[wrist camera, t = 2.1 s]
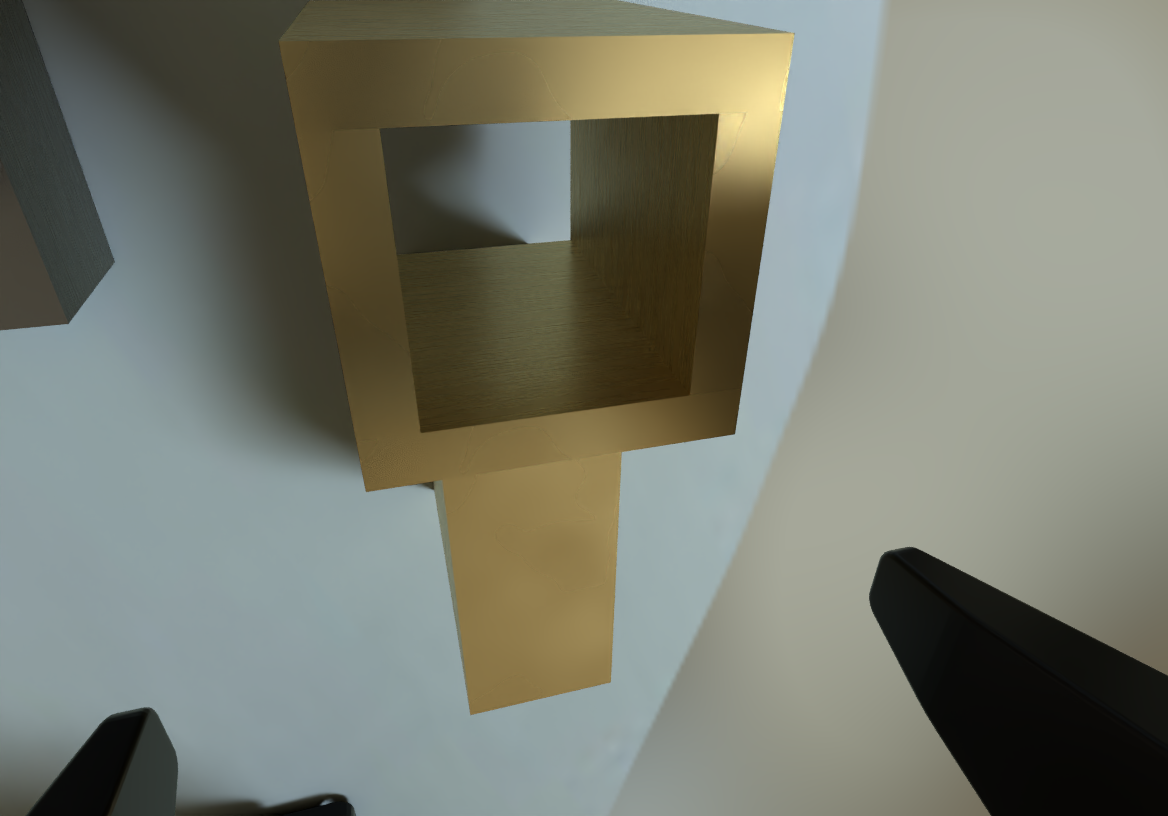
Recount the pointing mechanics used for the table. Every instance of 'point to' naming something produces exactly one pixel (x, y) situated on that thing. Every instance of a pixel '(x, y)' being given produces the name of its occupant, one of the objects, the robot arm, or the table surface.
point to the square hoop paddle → (540, 288)
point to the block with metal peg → (40, 193)
